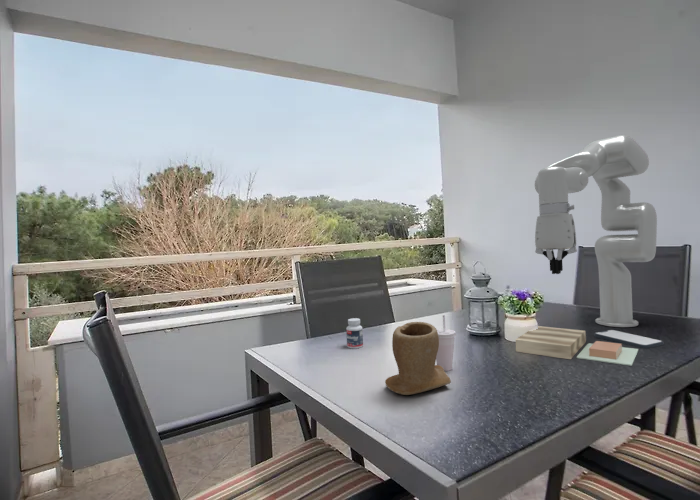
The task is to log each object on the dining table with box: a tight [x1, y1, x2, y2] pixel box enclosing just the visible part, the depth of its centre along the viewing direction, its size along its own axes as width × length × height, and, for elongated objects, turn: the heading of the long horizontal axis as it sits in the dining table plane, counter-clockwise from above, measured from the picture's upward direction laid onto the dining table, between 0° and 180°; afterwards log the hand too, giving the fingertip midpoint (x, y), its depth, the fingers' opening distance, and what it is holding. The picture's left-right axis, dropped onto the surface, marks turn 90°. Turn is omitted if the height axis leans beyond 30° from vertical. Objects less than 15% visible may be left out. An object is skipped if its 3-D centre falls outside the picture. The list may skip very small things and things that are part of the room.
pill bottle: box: [345, 317, 364, 349], centre depth 126 cm, size 5×5×9 cm
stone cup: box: [384, 321, 452, 396], centre depth 88 cm, size 15×12×15 cm
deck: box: [515, 325, 587, 360], centre depth 115 cm, size 20×14×4 cm
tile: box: [589, 340, 623, 359], centre depth 105 cm, size 9×6×2 cm, turn 137°
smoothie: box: [435, 314, 457, 372], centre depth 100 cm, size 6×6×14 cm
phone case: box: [593, 329, 665, 349], centre depth 117 cm, size 9×2×16 cm
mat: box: [576, 342, 639, 367], centre depth 106 cm, size 16×12×1 cm
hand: (556, 273), depth 113 cm, fingers closed
